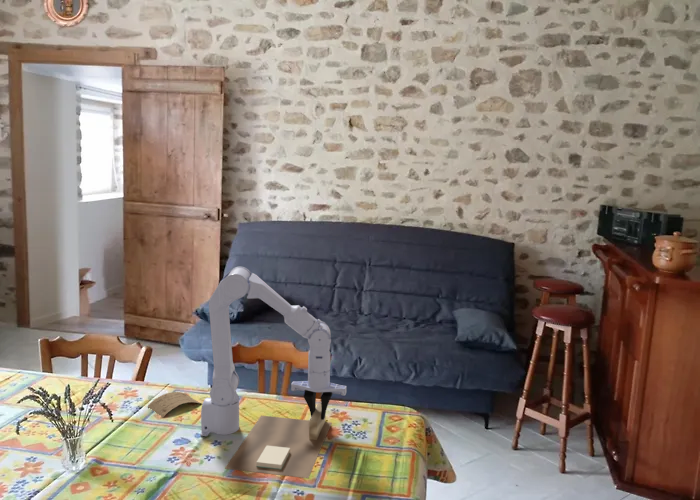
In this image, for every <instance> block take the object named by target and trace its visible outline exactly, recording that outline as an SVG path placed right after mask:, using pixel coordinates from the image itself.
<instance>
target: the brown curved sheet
mask: <svg viewBox="0 0 700 500" xmlns="http://www.w3.org/2000/svg"><path fill="white" fill-rule="evenodd" d="M187 403H195V404H196V403H197V404H200V402H199V401H197V400H196V399H194V398H193V397H191V396H189V395H187V394H186V393H184V392H180V391H174V392H168V393H164V394H162V395H159V396H158V397H156V398H155V399H153V400H152V401H151V402H150V403H149V404H148V405H147V408H148V407H149V408H150V409H149V408H148V409H149V410H151V409H152V410H151V411H152V412H154V411H155V412H156V414H157V415H158V414H159V415H158V416H160V415H161V416H160V417H161V418H164V417H165V416H166V415H167V414H168V413H169V412H171V411H172V410H173V409H175V408H177V407H178V406H180V405H182V404H187ZM155 412H154V413H155Z"/></svg>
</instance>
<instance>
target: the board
mask: <svg viewBox="0 0 700 500" xmlns="http://www.w3.org/2000/svg"><path fill="white" fill-rule="evenodd" d="M309 421H310V419H298V418H289V417H278V416H268V415H260V416H259V418H258V420H257V421H256V423H255V424H254V425H253V426H252V428H251V430H250V431H249V433H248V434H247V435H246V437H245V438H244V440H243V441H242V443H241V444H240V446H239V447H238V448H237V450H235V451H236V452H235V453H234V454H233V456H231V459H230V460H229V461H228V463H227V465H225V467H224V469H226V470H234V471H242V472H243V471H244V472H251V473H260V474H268V475H278V476H284V477H285V476H286V477H295V478H302V479H303V478H304V479H309V477H310V475H311V473H312V470H313V468H314V467H315V464H316V461H317V459H318V457H319V453H320V452H321V449H322V447H323V445H324V442H325V440H326V438H327V435H328V433H329V431H330V428H331V425H332V422H327V421H325V423H324V425H323V427H322V429H321V432H320V434H319V436H318V438H317V440H313V439H309ZM267 445H268V446H277V447H286V448H290V454H289V456H288V457H287V459H286V461H285V463H284V465H283V467H282V469H272V468H263V467H256V462H257V460H258V459H259V457H260V455H261V454H262V452H263V450H264V449H265V447H266V446H267Z"/></svg>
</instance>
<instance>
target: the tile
mask: <svg viewBox="0 0 700 500" xmlns="http://www.w3.org/2000/svg"><path fill="white" fill-rule="evenodd" d="M289 454H290V448H286V447H277V446H268V445H267V446H266V447H265V449H264V450H263V452H262V454H261V455H260V457H259V459H258V460H257V462H256V467H263V468H272V469H282V467H283V465H284V463H285V461H286V459H287V457H288V456H289Z"/></svg>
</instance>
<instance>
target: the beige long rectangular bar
mask: <svg viewBox="0 0 700 500" xmlns="http://www.w3.org/2000/svg"><path fill="white" fill-rule="evenodd" d="M316 405H317V406H316V409H315V411H314V413H313V415H312V417H311V416H310V419H309V420H310V421H309V439H313V440H317V438H318V436H319V434H320V432H321V429H322V427H323V425H324V423H325V422H326V417H325V418H324V420H321V409H322V408H321V402H318V403H317V404H316Z"/></svg>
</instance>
